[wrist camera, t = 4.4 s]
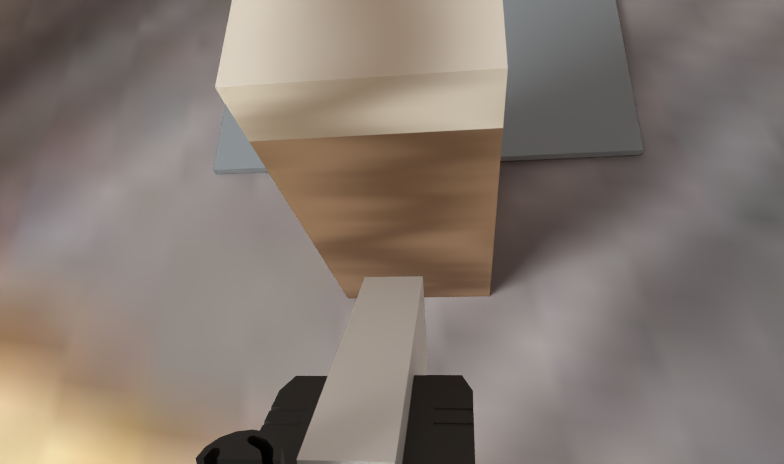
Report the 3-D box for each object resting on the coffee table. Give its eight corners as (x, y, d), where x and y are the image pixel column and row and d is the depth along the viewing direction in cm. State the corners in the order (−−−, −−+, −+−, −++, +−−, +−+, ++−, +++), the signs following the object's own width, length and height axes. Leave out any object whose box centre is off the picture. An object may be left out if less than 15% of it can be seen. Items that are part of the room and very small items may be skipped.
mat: (216, 174, 28) (212, 169, 28) (252, -29, 34) (250, -35, 34) (641, 154, 25) (643, 149, 25) (601, -62, 31) (602, -68, 31)
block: (348, 298, 24) (215, 87, 12) (355, 177, 27) (252, -103, 14) (489, 296, 24) (507, 68, 11) (483, 171, 26) (492, -130, 14)
